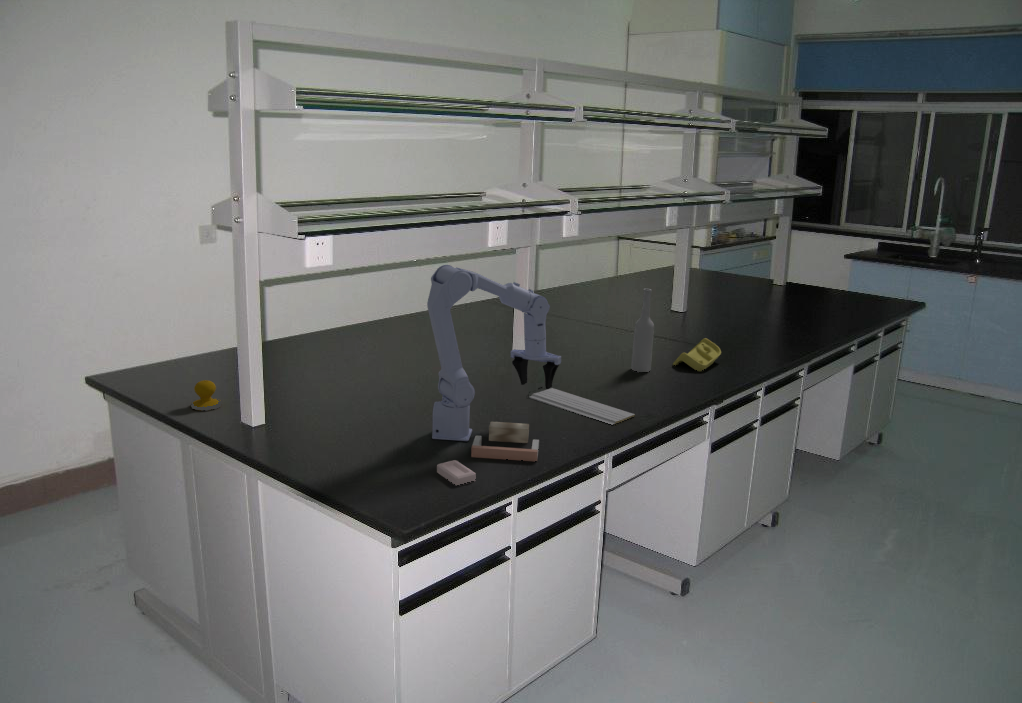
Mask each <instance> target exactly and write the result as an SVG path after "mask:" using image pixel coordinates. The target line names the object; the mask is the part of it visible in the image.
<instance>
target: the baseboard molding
mask: <svg viewBox="0 0 1022 703" xmlns="http://www.w3.org/2000/svg"><path fill="white" fill-rule="evenodd" d="M543 389H544V387H543V386H540V387H538V388H537V390H539V391H538V392H537V390H533V391H529V392H528V393H529V394H531V392H535V393H532V394H531V396H530V395H529V394H527V398H528V399H530V400H534V401H537V402H539V403H544V404H547V405H549V406H552V407H555V408H557V409H561V410H563V409H564V411H566V410H567V411H566V412H569V411H570V412H569V413H572V412H574V413H573V414H575V413H576V415H578V414H579V416H581V415H583V416H582V417H584V416H586V417H585V418H587V417H589V418H588V419H590V418H593V419H596V420H599V421H602V422H605V423H608V424H611V425H613V424H616V423H619V422H621V423H623V422H622V421H624V420H627V419H629V418H631V417H634V416H636V414H635V413H632V412H629V411H626V410H622V409H619V408H617V407H614V406H610V405H607V404H603V403H600V402H599V401H598V402H597V401H595V400H591V399H588V398H584V397H581V396H579V395H575V394H572V393H569V392H566V391H564V390H560V389H556V388H553V387H551V388H549V389H544V390H543ZM540 390H541V391H540ZM634 418H635V417H634ZM593 419H592V420H593ZM596 420H595V421H596ZM629 420H630V419H629ZM599 421H598V422H599ZM627 421H628V420H627ZM602 422H601V423H602ZM624 422H625V421H624ZM605 423H604V424H605ZM608 424H607V425H608ZM619 424H620V423H619ZM611 425H610V426H611ZM616 425H617V424H616Z"/></svg>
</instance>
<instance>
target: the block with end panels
mask: <svg viewBox="0 0 1022 703" xmlns="http://www.w3.org/2000/svg"><path fill="white" fill-rule="evenodd" d="M482 439H483V438H482V435H475V437H474V439H473V442H472V445H471V450H470V451H471V453H470V454H471V455H470V457H471V458H479V459H492V460H506V459H508V460H511V461H521V460H523V462H535V461H537V462H538V456H539V450H538V449H539V448H540V439H536V438H535V439H532V444H531V445H532V446H531V448H520V447H504V446H489V445H488V446H487V445H482ZM508 460H507V461H508Z"/></svg>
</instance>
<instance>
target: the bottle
mask: <svg viewBox="0 0 1022 703" xmlns="http://www.w3.org/2000/svg"><path fill="white" fill-rule="evenodd" d="M642 290H643V297H642V304H641V305H642V308H641V314H640V317H639V319H637V321H636V322H635V324H634V332H633V344H632V352H631V364H630V370H631V369H632V370H634V371H637V372H636V373H639V372H648V373H650V372H651V371H650V370H651V369H652V359H653V358H652V356H653V345H654V344H653V343H654V333H655V331H654V330H655V324H654V322H653V321H652V318H651V317H650V312H651V310H650V309H651V298H652V297H651V296H652V289H651V288H643V289H642ZM632 370H631V371H632ZM634 371H633V372H634ZM649 371H650V372H649Z"/></svg>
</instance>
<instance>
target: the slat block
mask: <svg viewBox="0 0 1022 703" xmlns="http://www.w3.org/2000/svg"><path fill="white" fill-rule="evenodd" d="M489 423H490V424H489V426H488V441H489V442H502V443H518V444H519V443H520V444H521V443H522V444H528V443H529V434H530V433H529V432H530V423H521V422H520V423H518V422H506V421H504V422H503V421H490V422H489Z"/></svg>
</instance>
